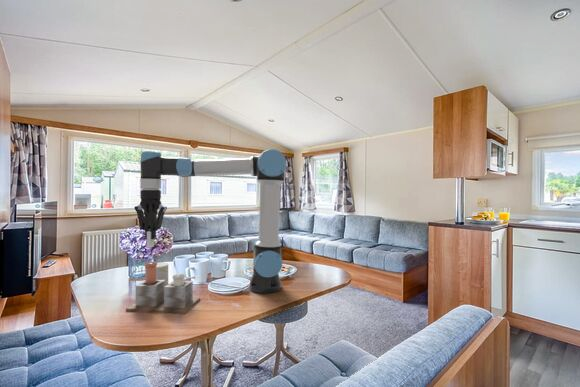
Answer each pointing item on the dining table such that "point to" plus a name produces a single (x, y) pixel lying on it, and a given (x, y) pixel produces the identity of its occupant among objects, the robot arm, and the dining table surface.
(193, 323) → the dining table surface
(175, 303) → the socket board
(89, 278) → the dining table surface
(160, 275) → the beige rectangular block
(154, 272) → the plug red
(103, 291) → the dining table surface
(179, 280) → the plug cream
